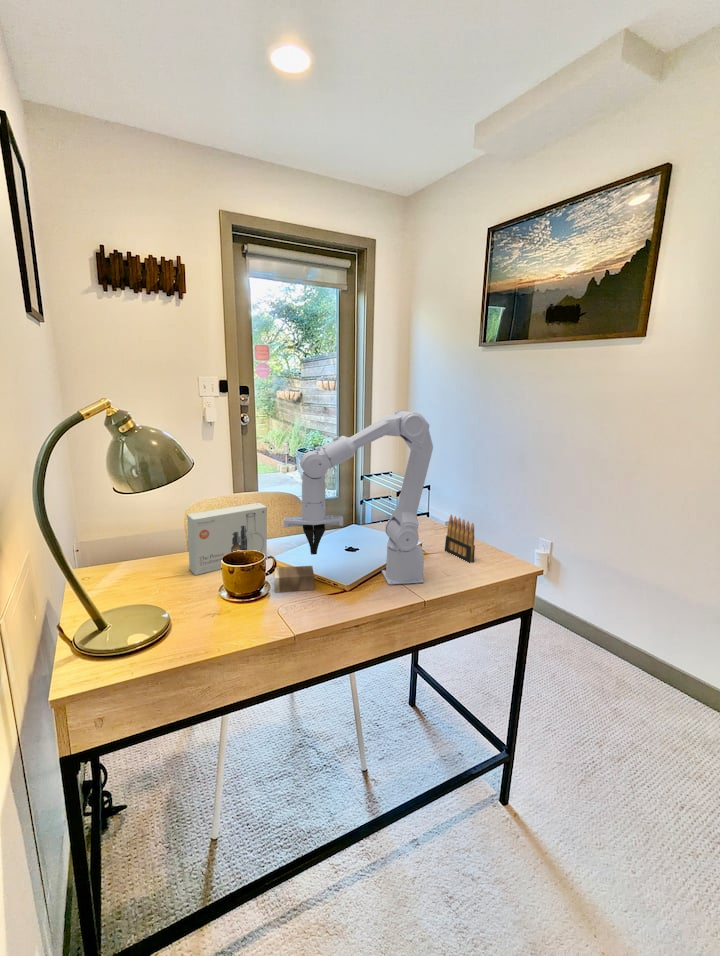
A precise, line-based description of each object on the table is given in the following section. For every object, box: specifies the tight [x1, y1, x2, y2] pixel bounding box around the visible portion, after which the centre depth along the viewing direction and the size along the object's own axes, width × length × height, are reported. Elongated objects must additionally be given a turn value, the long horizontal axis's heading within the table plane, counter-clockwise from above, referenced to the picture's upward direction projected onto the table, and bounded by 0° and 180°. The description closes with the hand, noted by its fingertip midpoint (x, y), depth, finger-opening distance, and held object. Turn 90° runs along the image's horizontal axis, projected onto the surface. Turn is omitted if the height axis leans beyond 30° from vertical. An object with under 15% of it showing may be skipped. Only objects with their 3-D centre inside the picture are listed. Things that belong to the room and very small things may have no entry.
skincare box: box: [186, 502, 268, 576], centre depth 122 cm, size 21×6×16 cm, turn 129°
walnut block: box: [274, 565, 315, 593], centre depth 112 cm, size 4×6×10 cm
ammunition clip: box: [444, 514, 476, 564], centre depth 132 cm, size 11×2×12 cm, turn 32°
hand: (313, 552), depth 111 cm, fingers closed
